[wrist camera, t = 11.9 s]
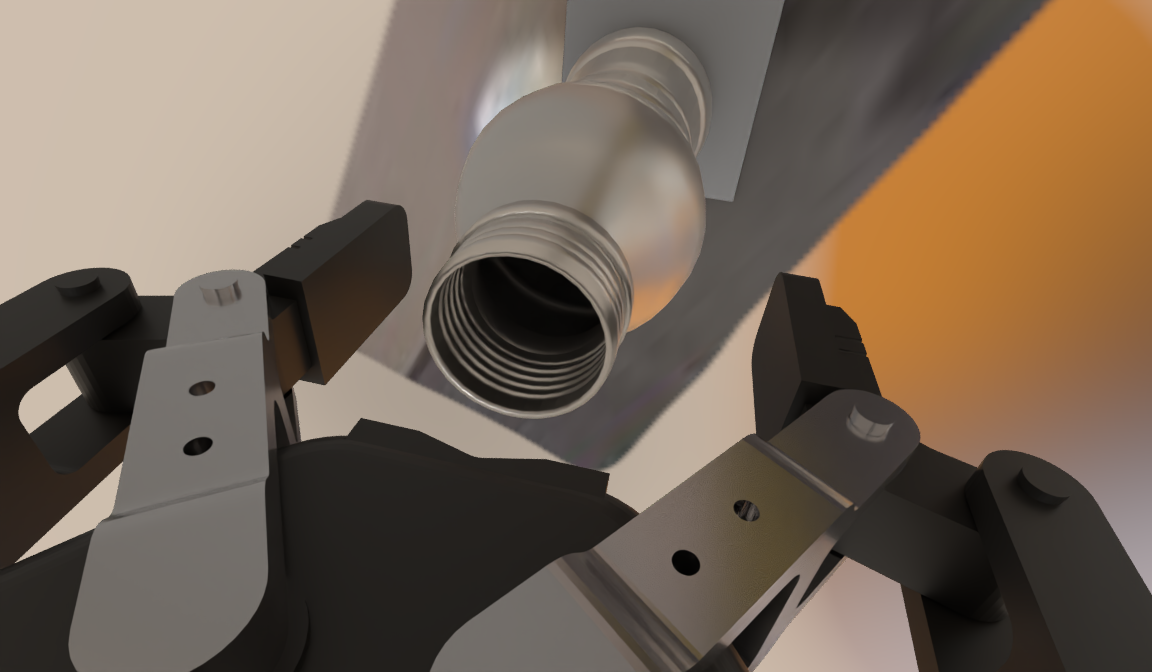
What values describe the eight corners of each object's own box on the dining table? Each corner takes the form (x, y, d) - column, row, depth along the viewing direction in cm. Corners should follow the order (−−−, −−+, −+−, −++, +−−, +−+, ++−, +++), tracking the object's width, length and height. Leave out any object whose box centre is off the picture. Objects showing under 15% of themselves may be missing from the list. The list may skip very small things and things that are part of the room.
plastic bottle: (553, 141, 28) (328, 398, 12) (605, -8, 24) (373, 78, 8) (671, 194, 28) (607, 516, 12) (741, 56, 24) (784, 263, 8)
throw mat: (576, -110, 23) (574, -111, 22) (806, -88, 22) (807, -89, 21) (557, 171, 29) (555, 174, 29) (732, 199, 28) (732, 202, 28)
